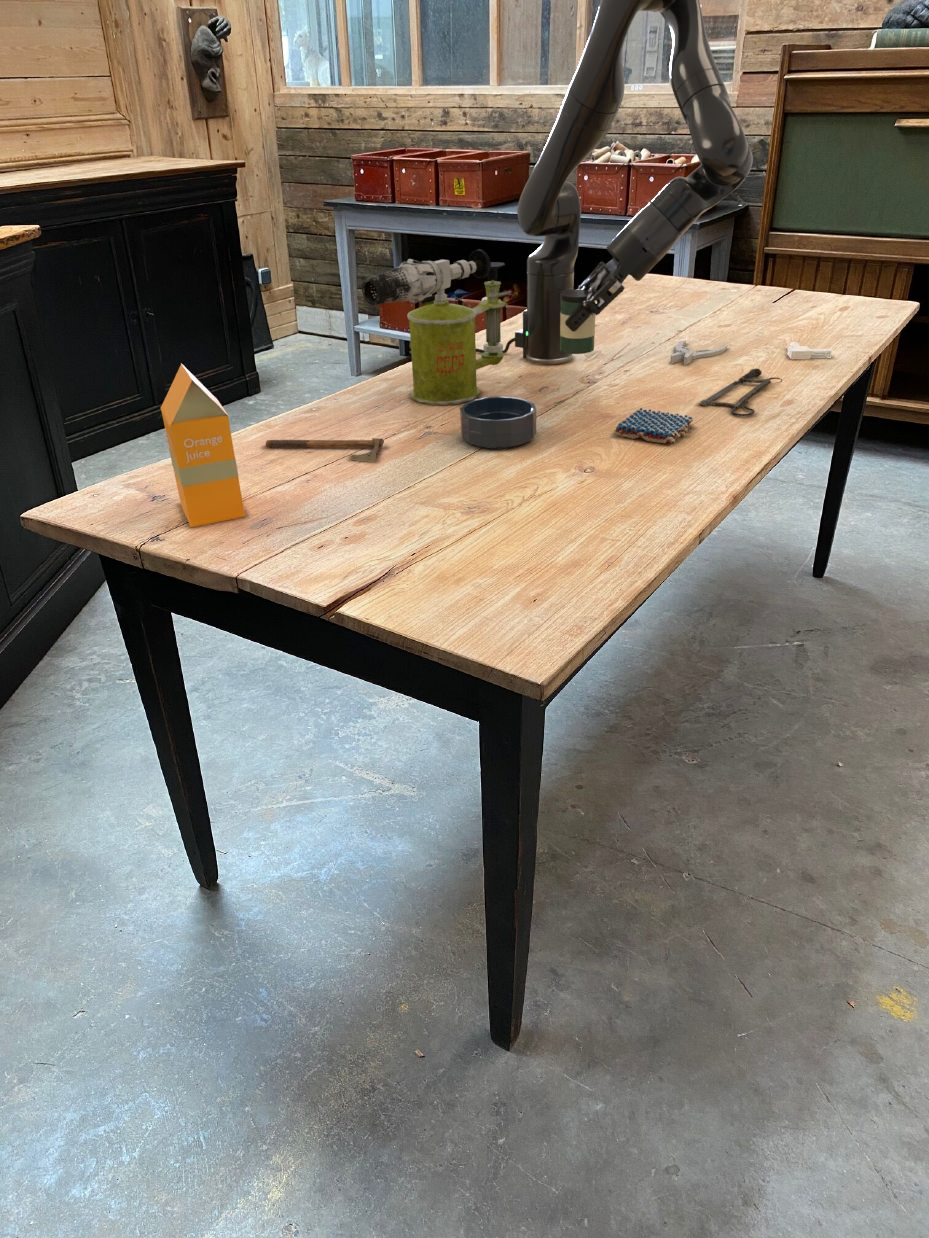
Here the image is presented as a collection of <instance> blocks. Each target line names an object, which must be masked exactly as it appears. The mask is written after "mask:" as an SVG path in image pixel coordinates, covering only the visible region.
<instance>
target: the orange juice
mask: <svg viewBox="0 0 929 1238" xmlns="http://www.w3.org/2000/svg"><path fill="white" fill-rule="evenodd" d="M160 411H161V415H162V416H161V417H162V420H163V426H164V430H165V434H166V440H167V444H168V445H167V446H168V451H169V455H170V461H171V465H172V469H173V473H174V478H175V483H176V489H177V493H178V496H179V502H180V506H181V508H182V511H183V513H184V515H185V517H186V520H187V522H188V524H189V527H190V528H194V527H201V526H204V525H210V524H215V523H220V522H226V521H229V520H230V521H231V520H234V519H235V520H236V519H239V518H246V514H245V508H244V502H243V497H242V491H241V484H240V478H239V477H240V476H239V472H238V465H237V459H236V455H235V450H234V444H233V438H232V432H231V425H230V419H229V414H228V413H227V411H226V409H225V408H224V407H223V406H222V404H221V403H220V401H219V400H218V398H217V397H216V396H214V395H213V393H211V392H210V390H208V388H207V387H206V386H204V385H203V383H202V382H201V381H200V380H199V379H198V378H197V377H196V376H195V375H194V374H193V373H191V371H190V370H189V369H187V367H186V366H185V365H184V364H182V363H180V366H179V368H178V370H177V372H176V374H175V377H174V379H173V380H172V383H171V385H170V387H169V389H168V392H167V394H166V396H165V397H164V400H163V402H162V404H161V406H160Z"/></svg>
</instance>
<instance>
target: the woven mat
mask: <svg viewBox="0 0 929 1238" xmlns="http://www.w3.org/2000/svg"><path fill="white" fill-rule="evenodd" d="M693 422H694V419H693V417H692V416H688V415H687V414H685V415H684V416H683V415H682V414H678V413H675V414H673V413H670V412H661V410H657V411H655V410H652V409H648V410H647V409H643V407H641V408H639V409H637V410H634V412H632V413H630V414H629V416H628V417H625V419H623V420H621V422H619V423H618V424H617V425H616V427H615V429H614V430H613V431H614V433H615V434H616V435H617V436H619V437H621V438H626V439H627V438H628V439H632V440H635V439H639V438H640V439H643V440H645V441H647V442H650V443H651V442H652V443H658V444H666V443H668V444H672V443H674V444H675V443H676V440H678V439H679V438H680V437H685V436H686V433H688V431H689V429H693V427H694V424H693Z"/></svg>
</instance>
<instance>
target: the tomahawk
mask: <svg viewBox="0 0 929 1238" xmlns="http://www.w3.org/2000/svg"><path fill="white" fill-rule="evenodd" d="M384 444H385V439H383V438H378V437H377V438H376V437H372V439H267V440H266V441H265V447H266V448H372V450H370V451H368V452H365V453H363V454H351V455H350V457H351V458H350V460H352V461H357V462H367V463H369V462H370V463H376V462H377V454H378V451H380V450H381V448H383V447H384Z"/></svg>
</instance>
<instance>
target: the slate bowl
mask: <svg viewBox="0 0 929 1238" xmlns="http://www.w3.org/2000/svg"><path fill="white" fill-rule="evenodd" d="M537 409H538V408H537V407H536V404H535V403H534V402H532V401H530V400H528V399H525V398H520V397H516V396H515V397H514V396H502V395H501V396H500V395H499V396H485V397H481V398H475V399H473V400H470V401H467V402H464V403H463V405H462V406H461V407H460V408H459V415H460V417H459V418H460V435H461V438H462V440H463V441H464V442H467V443H468V444H470V445H475V446H476V447H480V448H485V449H509V448H514V447H519V446H520V445H523V444H527V443H528V442H530V441H532V440H534V439H535V437H536V436H537V416H538V415H537V413H538V412H537Z"/></svg>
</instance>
